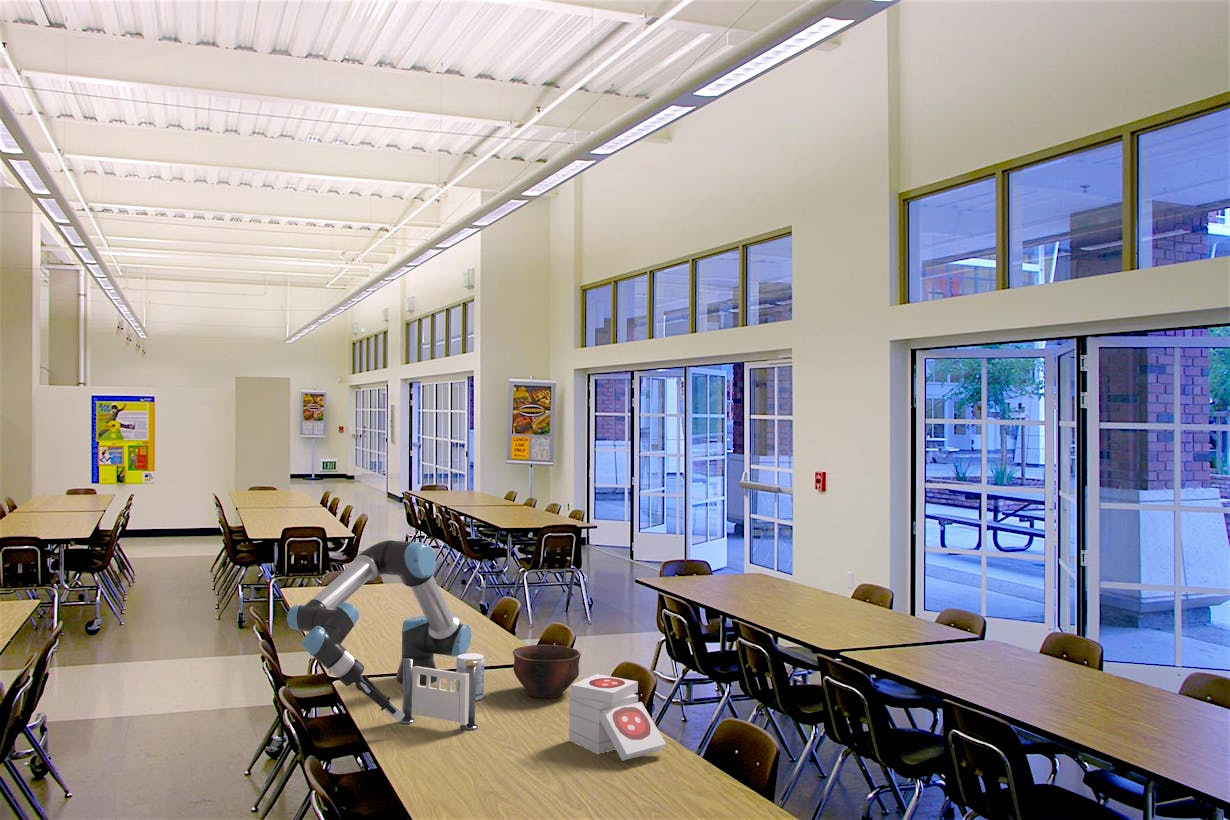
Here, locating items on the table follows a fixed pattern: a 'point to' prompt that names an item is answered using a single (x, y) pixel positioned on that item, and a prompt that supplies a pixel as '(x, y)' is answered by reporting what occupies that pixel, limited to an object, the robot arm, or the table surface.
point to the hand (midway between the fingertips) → (401, 718)
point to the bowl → (546, 669)
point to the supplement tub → (479, 672)
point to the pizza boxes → (611, 718)
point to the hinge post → (407, 691)
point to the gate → (441, 696)
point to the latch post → (471, 693)
